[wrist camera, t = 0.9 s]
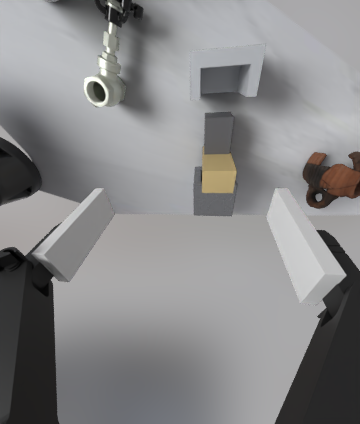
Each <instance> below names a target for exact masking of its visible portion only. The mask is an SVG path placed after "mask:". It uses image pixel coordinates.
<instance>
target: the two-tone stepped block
mask: <svg viewBox="0 0 360 424" xmlns="http://www.w3.org/2000/svg"><path fill="white" fill-rule="evenodd" d="M233 122H234V116H233V115H232V113H231V112H217V113H205V134H204V146H203V156H202V193H233V191H234V184H235V178H236V172H237V170H236V167H235V164H234V161H233V158H232V155H231V152H230V146H231V138H232V130H233Z"/></svg>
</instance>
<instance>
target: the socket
mask: <svg viewBox="0 0 360 424" xmlns="http://www.w3.org/2000/svg"><path fill="white" fill-rule="evenodd" d="M265 48H266V44H257V45H247V46H236V47H225V48H214V49H203V50H193V51H190V100H200V96H201V94H209V93H226V92H238V93H240V94H242V95H244V96H245V97H255V96H257V91H258V86H259V80H260V75H261V70H262V64H263V59H264V54H265Z"/></svg>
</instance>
